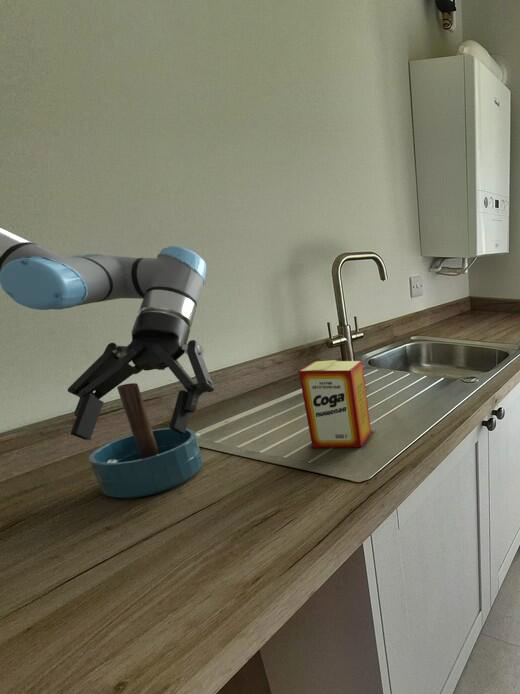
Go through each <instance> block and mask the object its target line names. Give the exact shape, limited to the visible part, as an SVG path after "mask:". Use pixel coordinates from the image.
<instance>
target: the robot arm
mask: <svg viewBox="0 0 520 694" xmlns="http://www.w3.org/2000/svg"><path fill="white" fill-rule="evenodd" d="M206 274H207V264H206V262H205V260H204V259H203V257H201V256H200V255H199V254H197V253H196V252H194V250H193V251H192V250H190V249H188V248H186V247H182V246H175V245H170V246H167V247H163V248H162V249H161V250H160V251H159V253H158V254H157V256H156V257H131V256H129V257H128V256H117V255H104V254H98V253H95V254H89V253H87V254H74V255H72V256H63V255H61V254H59V253H56V252H54V251H52V250H50V249H48V248H47V247H43V246H41V245H39V244H37V243H34V242H33V241H31V240H29V239H27V238H25V237H23V236H21V235H18V234H17V233H14V232H12V231H10V230H8V229H6V228H3V226H0V286H1V289H2V290H3V291H4V293H5V294H7V296H9V298H11V299H12V300H13V301H14V302H15V303H17V304H18V305H20V306H23V307H25V308H28V309H31V310H37V311H38V310H39V311H48V310H65V309H71V308H74V307H78V306H79V307H80V306H85V305H88V304H93V303H101V302H107V301H113V300H118V299H119V300H120V299H138V300H140V299H142V301H141V304H140V307H139V309H138V312H137V313H138V315H137V316H136V318H135V320H134V324H133V327H132V329H131V341H130V343H129V344H128V345H118V344H117V343H115V342H110V343H108V344H107V345H106V347H105V349H104V351H103V353H102V354H101V355H100V356H99V357H98V358H97V359H96V360H95V361H94V362H93V363H92V364H91V365H90V366H89V367H88V368H87V369H86V370H85V371H84V372H83V373H82V374H80V376H79V377H78V378H76V380H75V381H74V382H73V383H72V384H71V385H70V386H69V387H68V388H67V392H68V393H70V394H72V395H74V396H76V397H78V398H79V399H78V402H77V404H76V407H75V409H74V412H73V416H75V417H76V418H75V421H74V423H73V426H72V428H71V431H70V435H72V436H74V437H77V438H78V439H79V438H80V439H81V440H84V441H86V440H87V441H90V440H91V439H92V436H93V434H94V430H95V428H96V425H97V422H98V419H99V416H100V414H101V411H102V408H103V406H104V403H105V402H104V401H103V400H101V399H102V398H103V397H105V396H106V395H107V394H109V393H110V392H111V391H112V390H114V389H116V388H117V387H118V386H120V385H121V384H122V383H123V382H124V381H126V380H127V379H129V378H130V377H131V376H133V375H138V374H139V373H140V372H142V371H152V370H158V371H165V370H166V369H167V368H168V369H169V370H170V371H171V372H172V374H173V375H174V376H175V377H176V379H177V380H178V381H179V382H180V383H181V385H182V386H183V388H184V389H185V390H183V389H182V390H178V394H177V398H176V402H175V405H174V409H173V412H172V416H171V420H170V424H169V427H168V428H170V429H172V430H174V431H176V432H178V433H179V434H184V433H185V431H186V428H188V423H189V419H190V415H191V413H195V412H196V411H197V408H198V407H197V406H198V402H199V399H200V396H201V395H202V394H204V393H212V392H214V390H215V385H214V382H213V381H212V378H211V375H210V372H209V371H208V368H207V365H206V362H205V360H204V358H203V357H204V348H203V346H201V345H200V343H198V342H197V341H196V340H194V339H191V340H189V337H190V333H191V327H192V325H193V322H194V318H195V315H196V311H197V307H198V302H199V299H200V296H201V292H202V291H203V288H204V287H203V286H204V285H205V283H206V281H205V280H206ZM188 340H189V341H188ZM184 354H186V355H187V356H188V360H189V362H190V364H191V367H192V370H193V373H194V377H195V379H196V381H197V383H196V382H195V380H193V379H192V377H191V376H190V375H189V374H188V373H187V371H186V370H185V369H184V367H183V366H182V364H181V363H180V362H179V361H178V360H179V359H180V358H181V357H182V356H184ZM131 362H132V364H133V365H131V364H130V363H131Z"/></svg>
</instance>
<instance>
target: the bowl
mask: <svg viewBox="0 0 520 694" xmlns="http://www.w3.org/2000/svg"><path fill="white" fill-rule="evenodd" d="M152 431H153V434H154V438H155V441H156V444H157V447H158V450H159V453H160V454H158V455H155V456H151V457H148V458H143V459H141V458H140V455H139V452H138V449H137V446H136V443H135V440H134V437H133V434H130V435H127V436H124V437H121V438H118V439H116V440H113V441H109V442H108V443H106V444H103V445H102V446H100V447H98V448H96V449H95V450H94V451H93V452H92V453H91V454H90V455H89V457H88V460H89V462H90V464H91V468H92V470H93V473H94V475H95V478H96V480H97V481H96V482H97V483H98V486H99V489H100V491H101V493H102V494H103V495H105V496H107V497H112V498H119V499H134V498H141V497H142V498H143V497H147V496H151V495H156V494H158V493H159V494H160V493H162V492H165V491H168V490H170V489H173V488H175V487H177V486H179V485H182V484H183V483H186V481H189V480H190V479H191V478H193V476H195V475H196V473H198V472H199V471H200V470H201V469H202V468H203V465H204V460H203V456H202V452H201V449H200V445H199V441H198V438H197V435H196V431H194V430H193V429H190V428H188V427H186V431H185V433H184V434H179V433H178V432H176V431H174V430H172V429H170V428H169V427H165V428H157V429H152Z"/></svg>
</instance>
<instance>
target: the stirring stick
mask: <svg viewBox="0 0 520 694" xmlns="http://www.w3.org/2000/svg"><path fill="white" fill-rule="evenodd" d="M116 388H117V391H118V394H119V398H120V401H121V403H122V407H123V409H124V413H125V416H126V419H127V422H128V424H129V428H130V430H131V433H132V434H131V435H133V437H134V440H135V443H136V446H137V449H138V452H139V455H140V458H141V459H143V458H148V457H151V456H155V455H158V454H160V453H159V450H158V447H157V444H156V441H155V438H154V434H153V431H152V430H153V428H152V424H151V422H150V419H149V415H148V412H147V408H146V406H145V403H144V400H143V397H142V393H141V390H140V386H139V384H138V383H136V382H132V383H125V384H120V385H118V386H116Z"/></svg>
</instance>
